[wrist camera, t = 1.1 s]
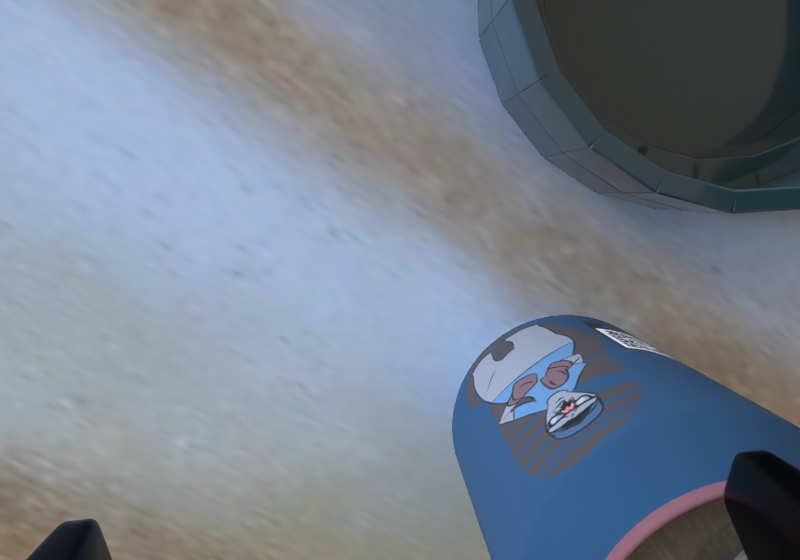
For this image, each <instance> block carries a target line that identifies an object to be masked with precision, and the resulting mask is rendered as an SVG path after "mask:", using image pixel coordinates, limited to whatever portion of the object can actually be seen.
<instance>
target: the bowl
mask: <svg viewBox="0 0 800 560" xmlns="http://www.w3.org/2000/svg"><path fill="white" fill-rule="evenodd" d="M477 1H478V25H479V37H480V44H481V47H482V50H483V52H484V55H485V58H486V61H487V64H488V66H489V69H490V72H491V75H492V77H493V80H494V83H495V86H496V89H497V91H498V94H499V97H500V100H501V103H502V104H503V106H504V108H505V109H506V110H507V111H508V113H509V114H510V115H511V117H512V118H513V119H514V121H515V122H516V123H517V124H518V126H519V127H520V128H521V130H522V131H523V132H524V133H525V135H526V136H527V137H528V139H529V140H530V141H531V143H532V144H533V145H534V146H535V148H536V149H537V150H538V152H539V153H540V154H541V156H544V158H545V159H546V160H548V161H549V162H551V163H552V164H554V165H555V166H557V167H558V168H560V169H561V170H563V171H564V172H566V173H567V174H568V175H570V176H571V177H573V178H574V179H576V180H577V181H579V182H580V183H582V184H583V185H585V186H586V187H588V188H589V189H591V190H592V191H594V192H598V193H599V194H602V195H605V196H609V197H613V198H616V199H620V200H624V201H628V202H631V203H635V204H639V205H642V206H646V207H650V208H654V209H660V210H677V211H695V212H713V213H730V214H737V213H753V212H769V211H785V210H800V0H477Z"/></svg>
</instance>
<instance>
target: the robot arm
mask: <svg viewBox="0 0 800 560" xmlns="http://www.w3.org/2000/svg"><path fill="white" fill-rule="evenodd" d="M724 502H725V506H726V509H727V512H728V514H729V516H730V519H731V521H732V523H733V526H734V528H735V530H736V533H737V535H738V537H739V540H740V542H741V544H742V547H743V549H744V551H745V554H746V556H747V558H748V560H800V469H798V468H796V467H795V466H793V465H791V464H790V463H788V462H787V461H785V460H783V459H782V458H780V457H778V456H777V455H775V454H773V453H771V452H770V451H767V450H753V451H743V452H739V453H738V454H737V455H736V456H735V457H734V459H733V462H732V465H731V469H730V472H729V475H728V479H727V482H726V485H725V489H724ZM26 560H112V558H111V555H110V552H109V550H108V547H107V544H106V542H105V539H104V537H103V534H102V531H101V529H100V526H99V524H98V522H97V521H95V520H94V519H83V520H73V521H66V522H64V523H62V524H61V525H59V526H58V527H57V528H56V529H55V530H54V531H53V532H52V533H51V534H50V535H49V536H48V537H47V538H46V539H45V540H44V541H43V542H42V543H41V545H40V546H39V547H38V548H37V549H36V550H35V551H34V552H33V553H32V554H31V555H30V556H29V557H28V558H27V559H26Z"/></svg>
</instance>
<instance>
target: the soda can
mask: <svg viewBox="0 0 800 560" xmlns="http://www.w3.org/2000/svg"><path fill="white" fill-rule="evenodd" d="M452 432H453V442H454V448H455V453H456V456H457V459H458V463H459V465H460V468H461V471H462V474H463V477H464V480H465V483H466V486H467V489H468V492H469V495H470V498H471V501H472V504H473V507H474V510H475V513H476V516H477V518H478V521H479V524H480V527H481V530H482V533H483V536H484V539H485V542H486V545H487V548H488V551H489V554H490V557H491V560H748V558H747V556H746V554H745V551H744V549H743V547H742V544H741V542H740V540H739V537H738V535H737V533H736V530H735V528H734V526H733V523H732V521H731V519H730V516H729V514H728V512H727V509H726V506H725V502H724V489H725V485H726V482H727V479H728V475H729V472H730V469H731V465H732V462H733V459H734V457H735V456H736V455H737V454H738V453H739V452H743V451H753V450H767V451H770V452H771V453H773V454H775V455H777V456H778V457H780V458H782V459H783V460H785V461H787V462H788V463H790V464H791V465H793V466H795V467H796V468H798V469H800V428H799V427H797V426H795V425H794V424H792V423H790V422H788V421H786V420H785V419H783V418H781V417H779V416H777V415H775V414H774V413H772V412H770V411H768V410H766V409H765V408H763V407H761V406H759V405H757V404H756V403H754V402H752V401H750V400H748V399H746V398H745V397H743V396H741V395H739V394H737V393H736V392H734V391H732V390H730V389H728V388H726V387H725V386H723V385H721V384H719V383H717V382H716V381H714V380H712V379H710V378H708V377H706V376H705V375H703V374H701V373H699V372H697V371H696V370H694V369H692V368H690V367H688V366H687V365H685V364H683V363H681V362H679V361H677V360H676V359H674V358H672V357H670V356H668V355H667V354H665V353H663V352H661V351H659V350H657V349H656V348H654V347H652V346H650V345H648V344H647V343H645V342H643V341H641V340H639V339H638V338H636V337H634V336H632V335H630V334H628V333H627V332H625V331H623V330H621V329H619V328H617V327H615V326H613V325H611V324H609V323H606V322H604V321H600V320H597V319H593V318H589V317H583V316H573V315H561V316H551V317H545V318H541V319H536V320H533V321H530V322H527V323H525V324H522V325H520V326H518V327H516V328H514V329H512V330H510V331H508V332H507V333H505V334H503V335H502V336H501V337H499V338H498V339H496V340H495V341H494V342H493V343H492V344H490V345H489V346H488V347H487V348H486V349H485V350H484V351H483V352H482V353H481V355H480V356H479V357H478V358H477V359H476V361H475V362H474V363H473V365H472V366H471V368H470V369H469V371H468V372H467V374H466V376H465V378H464V380H463V382H462V384H461V386H460V389H459V392H458V395H457V398H456V402H455V407H454V412H453V424H452Z"/></svg>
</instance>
